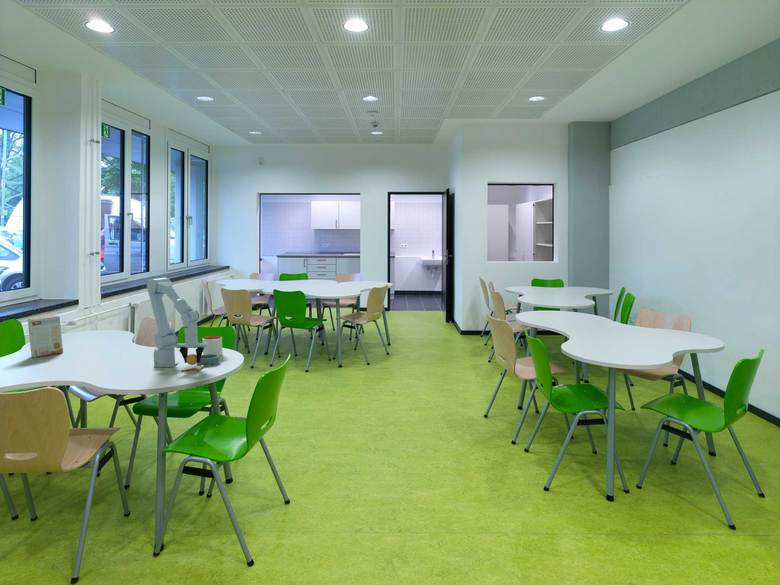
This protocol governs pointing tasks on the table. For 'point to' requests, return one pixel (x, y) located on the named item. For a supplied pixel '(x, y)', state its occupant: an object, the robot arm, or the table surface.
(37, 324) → the cracker box
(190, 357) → the ball
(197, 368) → the pad
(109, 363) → the table surface
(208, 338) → the cup
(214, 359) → the bowl
